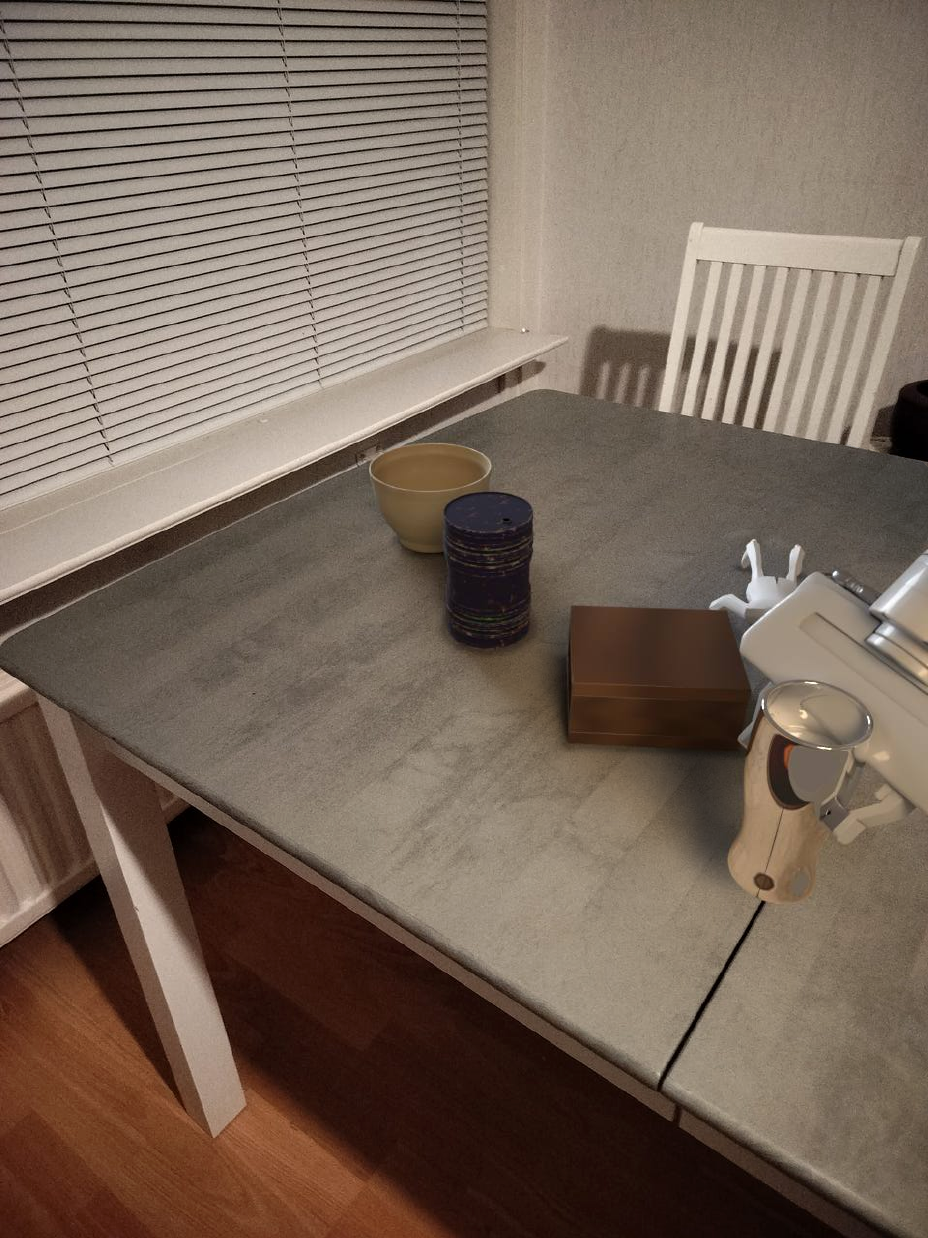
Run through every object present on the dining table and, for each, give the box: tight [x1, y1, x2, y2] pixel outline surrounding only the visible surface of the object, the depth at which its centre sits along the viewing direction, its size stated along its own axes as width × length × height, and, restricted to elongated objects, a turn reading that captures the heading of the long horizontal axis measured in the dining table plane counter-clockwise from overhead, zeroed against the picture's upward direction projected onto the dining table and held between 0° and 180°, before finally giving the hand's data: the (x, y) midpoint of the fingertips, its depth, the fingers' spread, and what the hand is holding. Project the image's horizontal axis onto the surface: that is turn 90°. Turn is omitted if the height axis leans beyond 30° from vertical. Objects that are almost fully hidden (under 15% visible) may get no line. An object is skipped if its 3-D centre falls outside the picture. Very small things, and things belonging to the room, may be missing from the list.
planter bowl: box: [368, 442, 493, 554], centre depth 111 cm, size 16×16×11 cm
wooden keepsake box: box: [566, 604, 752, 752], centre depth 82 cm, size 16×13×8 cm
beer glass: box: [726, 679, 875, 905], centre depth 55 cm, size 7×7×15 cm
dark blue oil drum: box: [443, 490, 535, 651], centre depth 92 cm, size 10×10×15 cm
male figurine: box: [708, 538, 806, 626], centre depth 94 cm, size 14×6×25 cm
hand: (787, 790), depth 54 cm, fingers closed on beer glass, 7 cm apart
